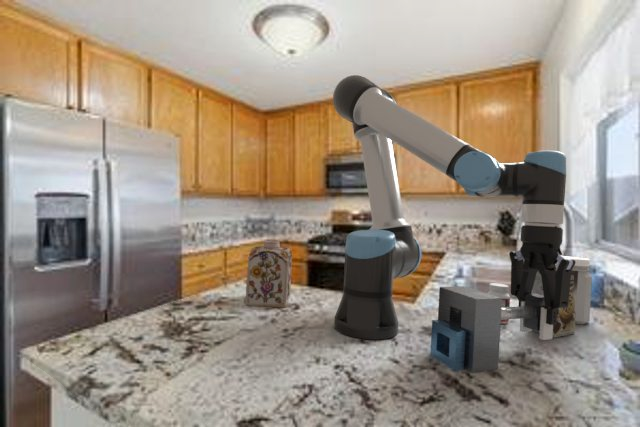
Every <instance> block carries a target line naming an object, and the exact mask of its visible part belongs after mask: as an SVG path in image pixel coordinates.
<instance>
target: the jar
mask: <svg viewBox="0 0 640 427" xmlns="http://www.w3.org/2000/svg"><path fill="white" fill-rule="evenodd" d="M563 256H564V257H566V258H568V259H573V260H575V265H574V267H573V269H572V270H577V271H578V283H577V300H576V319H575V325H586V324H587V323H589V322H590V315H591V302H592V301H591V298H592V297H591V296H592V282H593V276H592V275H591V274H590V268H588V267H590V261H591V260H590V258H585V257H578V256H568V255H563ZM557 263H558V262H557ZM557 263H556V264H555V266H556V268H558V266H557Z"/></svg>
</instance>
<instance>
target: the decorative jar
mask: <svg viewBox="0 0 640 427" xmlns="http://www.w3.org/2000/svg"><path fill="white" fill-rule="evenodd" d="M280 244H281V243H280V241H278V240H264V241H263V245H262V246H254V247H252V248H251V249H250V252H249V254H248V257H247V259H248V260H247V273H246V286H245V305H246V306H251V307H252V306H253V307H264V308H265V307H268V308H269V307H270V308H286V307H287V305H288V303H289V300H290V297H291V287H292V286H291V281H292V262H293V261H292V260H293V255H292V250H291V249H290V248H288V247H285V246H281V245H280Z"/></svg>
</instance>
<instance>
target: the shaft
mask: <svg viewBox="0 0 640 427" xmlns="http://www.w3.org/2000/svg"><path fill="white" fill-rule="evenodd" d="M543 306H545V301H544V296H543V295H539V294H532V293H531V294H526V301H525V306H519V307H518V306H510V307H502V308H501V320H507V319H509V320H518V319H519V320H520V319H521V318H525V319H524V327H527V328H530V329H532V331H533V330H535V331H534V332H536V331H540V318H541V307H543Z"/></svg>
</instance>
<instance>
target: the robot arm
mask: <svg viewBox="0 0 640 427" xmlns="http://www.w3.org/2000/svg"><path fill="white" fill-rule="evenodd" d="M332 94H333V95H332V102H333V103H332V104H333V107H334V110H335V111H336V114H338V115H339V116H340V117H341V118H342V119H345V120H346V121H348V122H351V123H352V129H353V137H354V139H355V140H357V141H359V142H360V147H361V152H362V153H361V154H362V159H363V168H364V174H365V179H366V180H365V181H366V186H367V193H368V198H369V206H370V213H371V220H372V225H371V227H370V228H369V229H360V230H359V229H358V230H354V231H352V232H350V233H349V234H347V237H346V239H345V246H344V268H343V269H344V274H343V290H342V291H343V292H342V296H341V299H340V302H339V304H338V307H337V309H336V313H335V315H334V322H333V323H334V324H333V327H334V329H335V330H336V331H337V332H339V333H341V334H343V335H346V336H347V337H352V338H356V339H361V340H386V339H391V338H394V337H395V336H397V335H398V334H399V320H398V316H397V312H396V309H395V305H394V301H393V290H394V287H393V286H394V280H395V279H401V278H406V277H407V276H409V275H411V274H412V273H414V272H415V271H416V270H417V268H418V267H419V265H420V263H421V261H422V253H423V252H422V247H421V245H420V243H419V242H418V240H417V239H416V238H414V235H413V234H414V233H413V228H412V224H411V223H409V222H407V221H406V220H405V214H404V209H403V208H404V207H403V203H402V196H401V190H400V184H399V180H398V179H399V177H398V174H397V172H398V171H397V167H396V166H397V165H396V159H395V154H394V147H393V143H395V144H396V145H398V146H400V148H401V147H402V148H403V149H404V150H406V151H408V152H409V153H411V154H412V155H414V156H416V157H417V158H419V159H420V160H421V161H424V162H425V163H427V164H428V165H430V166H432V167H433V168H434V169H436V170H437V171H439V172H441V173H443V174H445V175H446V176H447V177H449V178H450V179H452V180H453V181H455V182H456V183H458V184H459V186H460V187H462V188H463V189H464V191H465V194H466V195H468V196H469V197H480V198H484V197H491V198H492V197H493V198H494V197H498V198H499V197H514V198H516V197H517V198H518V197H520V198H521V197H522V206H521V218H520V221H521V222H522V223H523V224H524V225H521V227H520V241H521V242H522V243H521V247H520V250H515V251H510V252H509V259H510V262H511V264H510V295H512V296H514V297H515V298H517V300H518V306H517V307H519V306H525V301H526V294H532V289H533V285H534V281H535V277H536V273H537V272H538V271H539V273H540V274H541V278H542V286H543V293H544V301H545V306H543V307H541V318H540V333H539V337H538V338H539V340H542V341H548V340H553V337H552V335H553V325H555V324H556V322H557V310H558V309H559V308H566V307H568V302H569V292H570V282H571V271H572V269H573V267H574V265H575V260H573V259H568V258H566V257H564V256H565V255H563V252H562V250H561V245H562V244H563V235H564V230H563V227H560V225H563V224H564V216H565V215H564V212H565V198H566V195H565V194H566V184H567V157H566V155H565V153H563V152H561V151H557V150H538V151H532V152H528V153H527V154H526V155H525V156H524V160H523V161H520V162H510V163H509V162H505V163H503V162H502V163H501V162H499V161H498V160H497V159H496V157H494V156H493V155H491V154H489V153H487V152H485V151H482V150H480V149H478V148H477V147H475V146H472V145H471V144H469V143H468V142H466V141H464V140H462V139H460V138H459V137H456V136H455V135H453V134H451V133H450V132H448V131H446V130H444V129H442V128H441V127H439V126H437V125H436V124H433V123H432V122H430V121H429V120H426V119H425V118H423V117H421V116H419V115H418V114H416V113H414V112H412V111H410V110H408V109H407V108H405V107H403V106H402V105H399V104H398V103H397V102H396V100H395V98H394V97H393V96H392V95H391V94H390V93H389V92H388V91H387V90H385V89H383V88H381V87H379V85H377V84H376V83H374V82H373V81H371V80H370V79H368V78H367V77H364V76H363V75H349V76H346V77H345V78H343V79H341V80H340V81H339V82H338V84H337V85H336V86H335V88H334V91H333V93H332ZM392 142H393V143H392ZM557 262H558V263H557ZM556 263H557V266H558V268H557V274H556V266H555V265H556ZM547 270H548V271H547ZM555 274H556V279H555ZM524 319H525V318H521V319H519V332H520V333H529V332H533V330H532V329H530V328H527V327H524Z"/></svg>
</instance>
